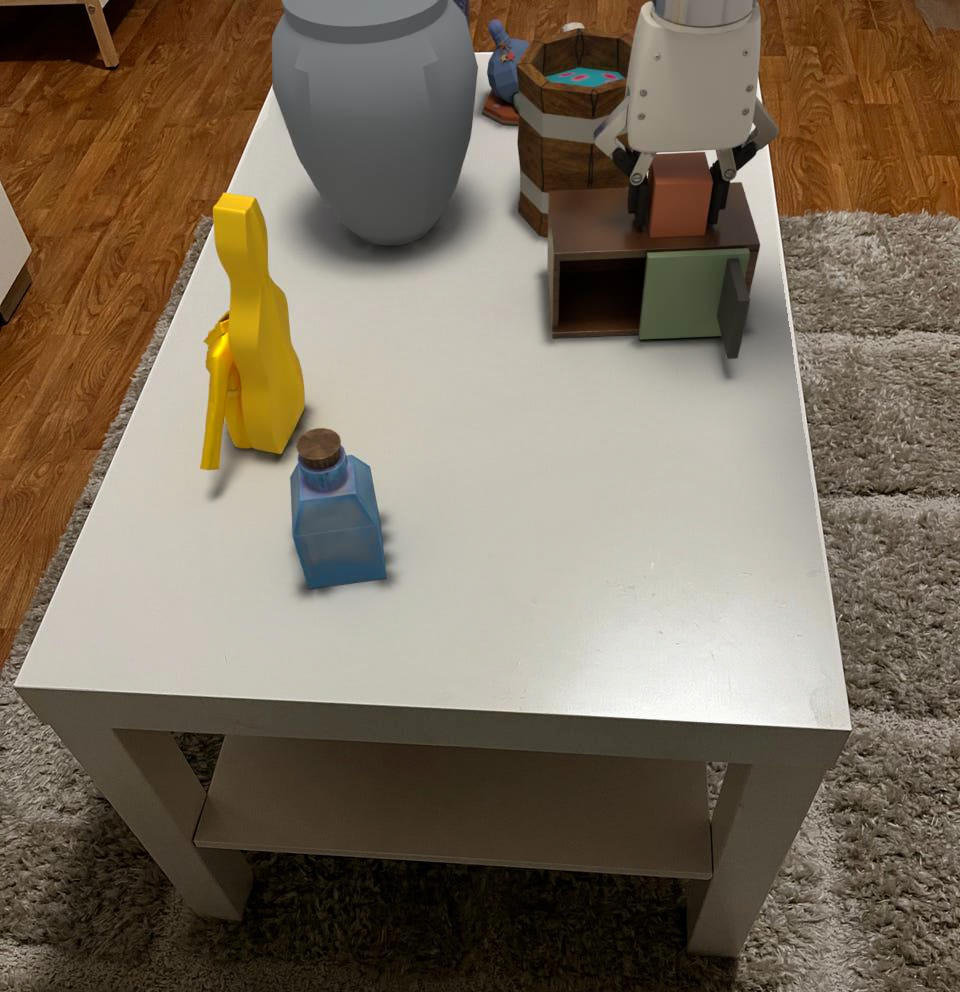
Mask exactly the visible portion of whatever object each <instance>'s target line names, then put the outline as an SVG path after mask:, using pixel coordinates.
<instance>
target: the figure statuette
mask: <svg viewBox="0 0 960 992" xmlns="http://www.w3.org/2000/svg"><path fill="white" fill-rule="evenodd" d="M212 219H213V235H214V246H215V250H216V254H217V257H218V259H219V262H220V264H221V266H222V268H223V270H224V271H225V273H226V275H227V277H228V279H229V285H230V294H229V296H230V297H229V309H228V310H227V311H226V312H225V313H224V314H223V315H222V316H221V317H220V318H219V319H218V320H217V323H216V324H215V325H214V328H212V329H211V330H209V331H208V333H207V337H205V338H204V340H203V341H202V342H203V343H205V344H206V346H207V350H206V356H205V357H206V358H205V368H206V370H207V372H208V373H209V382H208V398H207V399H208V400H207V409H206V417H205V428H204V437H203V445H202V453H201V460H200V466H199V468H200V470H204V471H215V470H216V471H217V470H220V465H221V464H220V463H221V453H222V452H221V451H222V441H223V433H224V424H226V428H227V431H228V435H229V437H230V439H231V441H232V443H233V445H234V447H236V448H239V449H251V448H252V449H254V450H257V451H260V452H261V451H262V452H266V453H267V452H268V453H272V454H277V455H282V454H283V453H284V451H285V448H286V446H287V444H288V443H289V440H290V439H291V437H292V435H293V433H294V431H295V429H296V428H297V425H298V423H299V421H300V418H301V417H302V414H303V412H304V409H305V405H306V394H305V381H304V374H303V370H302V366H301V362H300V359H299V356H298V355H297V352H296V350H295V348H294V346H293V343H292V342H293V341H292V337H291V328H290V313H289V305H288V299H287V296H286V294H285V292H284V291H283V289H281V287H279V285H277V284H276V283H275V281H274V280H273V279H272V277H271V275H270V270H269V240H268V229H267V223H266V220H265V216H264V214H263V211H262V210H261V206H260V203H259V200H258V199H257V198H256V197H255V196H249V195H242V194H236V193H231V192H222V194H221V196H220V197H219V199H218V201H217V202H216V203H215V204H214V206H213V207H212Z"/></svg>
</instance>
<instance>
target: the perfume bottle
mask: <svg viewBox="0 0 960 992" xmlns="http://www.w3.org/2000/svg"><path fill="white" fill-rule="evenodd" d="M295 444H296V445H295V448H296V451H297V453H298V454H297V463H296V466H295V467H294V470H293V471H292V473H291V474H290V476H289V484H290V485H289V486H290V509H291V533H292V534H291V535H292V539H293V543H294V546H295V550H296V553H297V556H298V559H299V563H300V566H301V570H302V573H303V576H304V579H305V582H306V586H307V589H308V590H312V589H318V588H325V587H326V588H327V587H333V586H340V585H347V584H348V585H349V584H354V583H362V582H370V581H377V580H384V579H387V578H388V577H387V568H386V558H385V550H384V542H383V540H384V539H383V533H382V524H381V517H380V511H379V506H378V501H377V496H376V491H375V485H374V484H375V483H374V480H373V475H372V474H373V473H372V470H371V466H370V465H369V464H367V463H366V462H364V461H362V460H361V459H360V458H358V457H357V456H355V455H353V454H347V453H346V450H345V447H344V446H343V445H342V440H341V437H340V435H339V433H338V432H336V431H335V430H333V429H330V428H327V427H326V428H325V427H317V428H313V429H309V430H308V431H305V432H304V433H302V434H301V436H299V437H298V439H297V440H296V443H295Z"/></svg>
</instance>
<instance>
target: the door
mask: <svg viewBox="0 0 960 992" xmlns="http://www.w3.org/2000/svg"><path fill="white" fill-rule="evenodd" d="M749 255H750V252H749V249H748V248H741V249H719V250H696V251H674V252H651V253H647V260H646V269H645V279H644V288H643V297H642V306H641V316H640V325H639V335H638V340H659V339H661V340H662V339H681V338H684V339H685V338H704V337H707V338H708V337H721V341H722V345H723V348H724V352H725V357H726V359H727V360H730V359H732V360H733V359H739V356H740V355H739V354H740V350H741V346H742V340H743V336H744V332H745V327H746V324H747V323H746V322H747V318H748V313H749V309H750V305H751V299H750V296H749V294H748V290H747V287H746V283H745V275H746V270H747V265H748V260H749Z"/></svg>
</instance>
